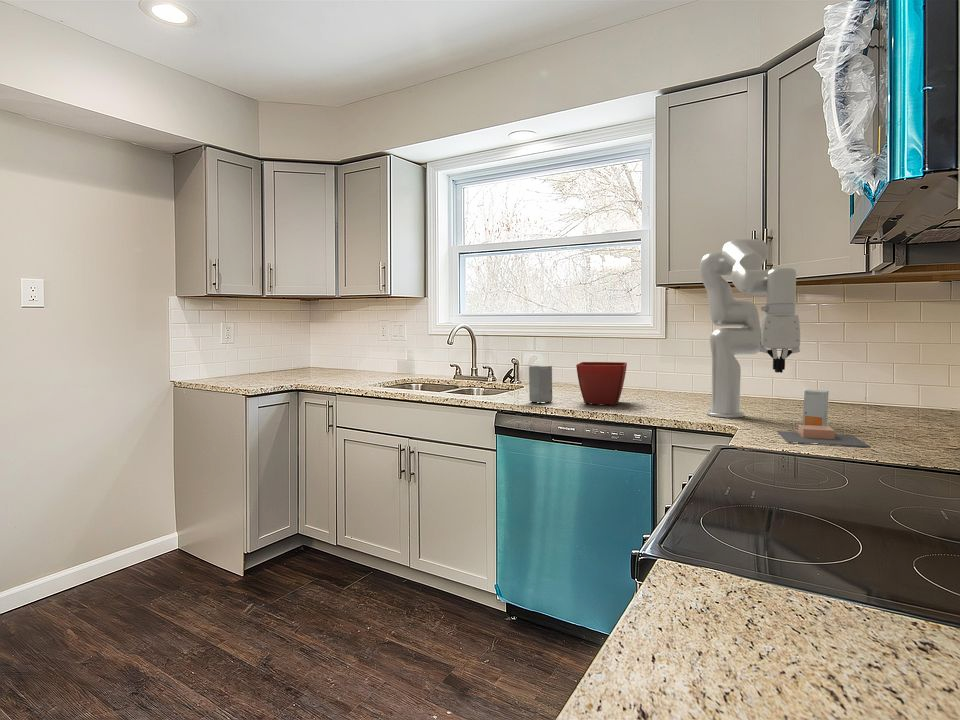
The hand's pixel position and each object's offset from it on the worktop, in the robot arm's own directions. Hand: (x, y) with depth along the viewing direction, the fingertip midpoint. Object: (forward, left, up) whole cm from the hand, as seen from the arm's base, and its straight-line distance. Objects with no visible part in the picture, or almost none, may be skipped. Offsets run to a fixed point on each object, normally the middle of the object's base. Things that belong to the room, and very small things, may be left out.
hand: (778, 372), depth 168 cm
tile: (0, +6, -17) cm, 19 cm away
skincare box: (-17, +14, -19) cm, 29 cm away
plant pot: (-52, -57, -19) cm, 80 cm away
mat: (+3, +11, -19) cm, 22 cm away
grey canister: (-47, -82, -19) cm, 96 cm away
